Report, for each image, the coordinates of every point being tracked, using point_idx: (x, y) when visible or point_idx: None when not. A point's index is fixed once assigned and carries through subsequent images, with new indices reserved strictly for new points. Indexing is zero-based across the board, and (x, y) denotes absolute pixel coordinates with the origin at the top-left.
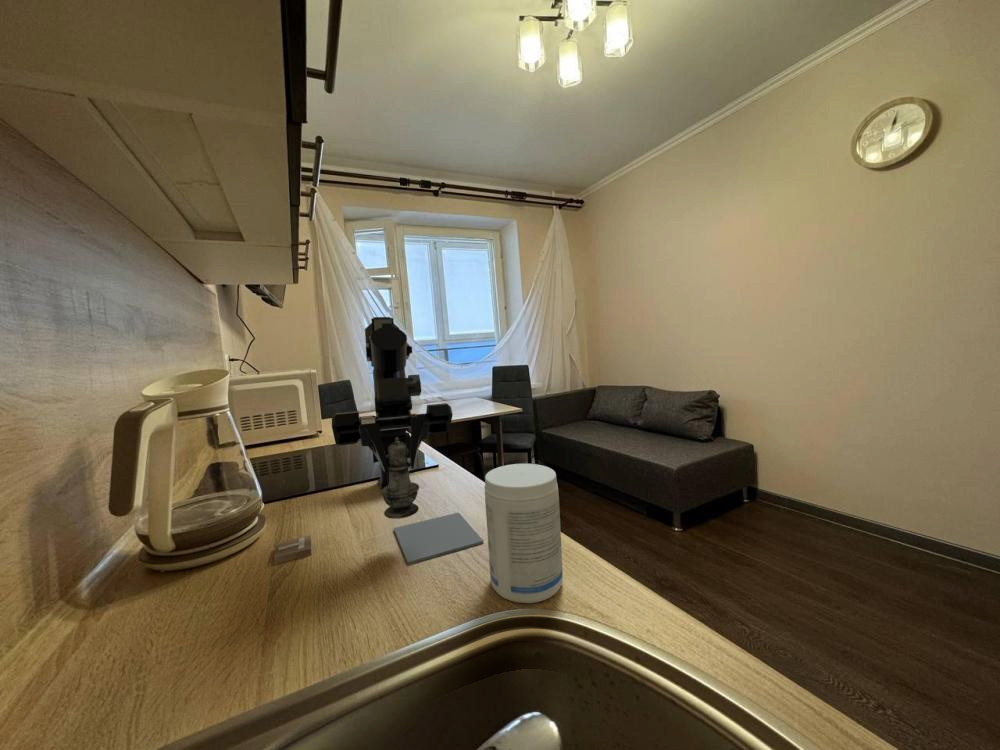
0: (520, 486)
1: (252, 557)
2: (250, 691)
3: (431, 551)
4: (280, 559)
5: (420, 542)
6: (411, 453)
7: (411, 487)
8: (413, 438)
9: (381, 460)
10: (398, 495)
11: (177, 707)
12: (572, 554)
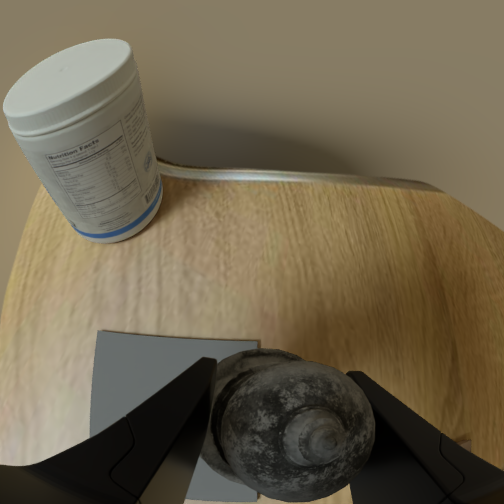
0: (112, 39)
1: None
2: (420, 205)
3: (202, 355)
4: (460, 443)
5: None
6: (197, 392)
7: (225, 383)
8: (133, 461)
9: (389, 393)
10: (282, 355)
11: (461, 219)
12: (34, 225)
